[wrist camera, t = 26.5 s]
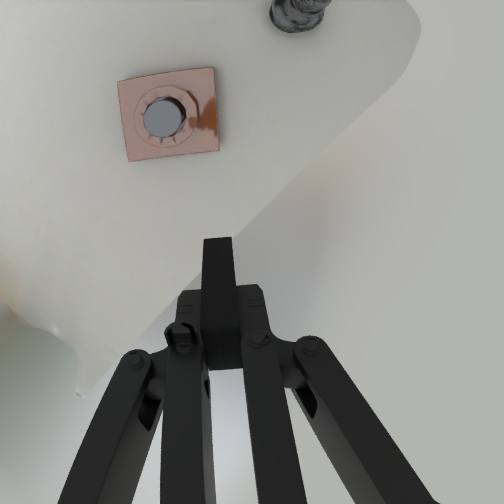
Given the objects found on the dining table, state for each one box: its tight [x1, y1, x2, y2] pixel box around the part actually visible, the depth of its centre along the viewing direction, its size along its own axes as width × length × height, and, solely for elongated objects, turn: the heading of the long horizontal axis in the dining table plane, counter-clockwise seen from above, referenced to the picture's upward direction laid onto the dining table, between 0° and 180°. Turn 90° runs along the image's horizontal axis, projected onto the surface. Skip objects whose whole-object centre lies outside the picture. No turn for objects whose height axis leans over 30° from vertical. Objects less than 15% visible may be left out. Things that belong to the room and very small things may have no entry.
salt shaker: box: [270, 0, 331, 33], centre depth 23 cm, size 6×6×12 cm
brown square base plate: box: [117, 67, 219, 162], centre depth 31 cm, size 11×10×5 cm
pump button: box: [144, 99, 184, 138], centre depth 29 cm, size 4×4×2 cm
